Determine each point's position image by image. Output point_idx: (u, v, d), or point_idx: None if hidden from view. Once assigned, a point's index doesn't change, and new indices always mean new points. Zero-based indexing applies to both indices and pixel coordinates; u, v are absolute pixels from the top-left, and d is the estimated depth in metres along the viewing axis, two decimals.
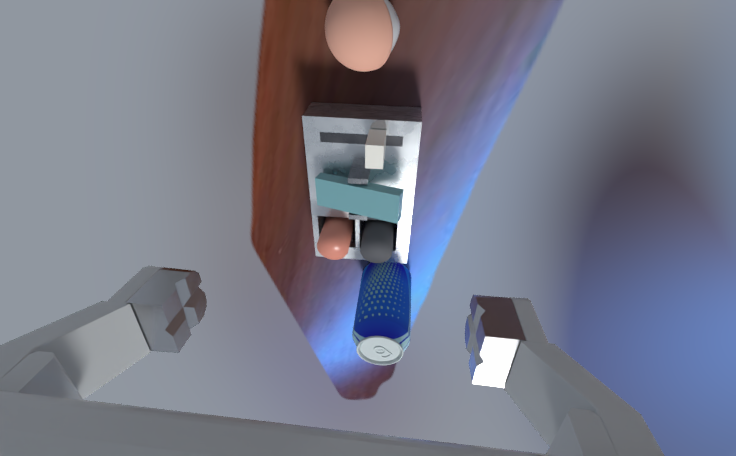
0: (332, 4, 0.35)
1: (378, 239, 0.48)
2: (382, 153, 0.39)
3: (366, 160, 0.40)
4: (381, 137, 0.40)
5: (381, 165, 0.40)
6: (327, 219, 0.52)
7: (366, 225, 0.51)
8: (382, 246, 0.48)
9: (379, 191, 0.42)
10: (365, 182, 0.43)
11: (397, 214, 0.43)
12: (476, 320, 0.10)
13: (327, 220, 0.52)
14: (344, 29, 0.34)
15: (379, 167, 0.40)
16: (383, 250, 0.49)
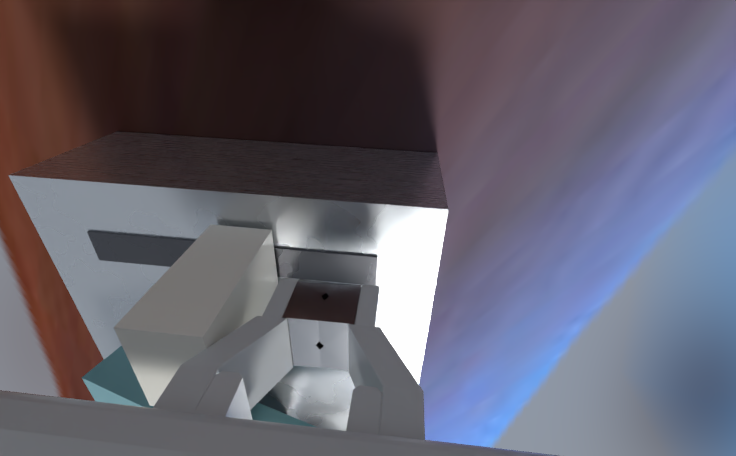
0: None
1: None
2: None
3: (144, 382, 0.09)
4: (228, 269, 0.10)
5: None
6: None
7: None
8: None
9: None
10: None
11: None
12: None
13: None
14: None
15: None
16: None
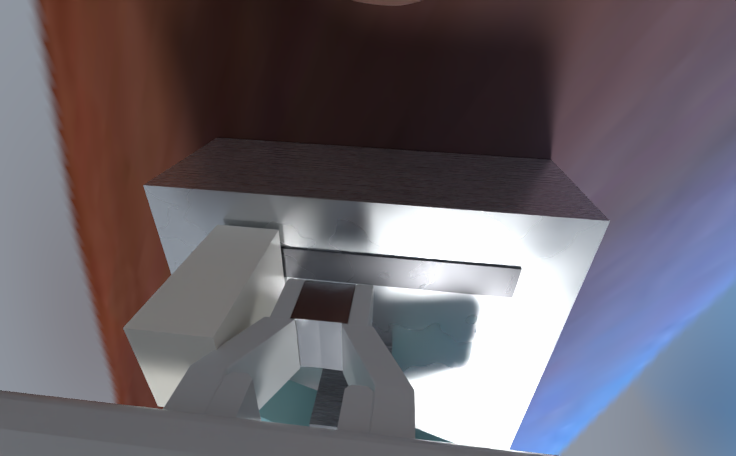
0: None
1: None
2: None
3: (153, 382, 0.09)
4: (236, 269, 0.10)
5: None
6: None
7: None
8: None
9: None
10: None
11: None
12: None
13: None
14: None
15: None
16: None
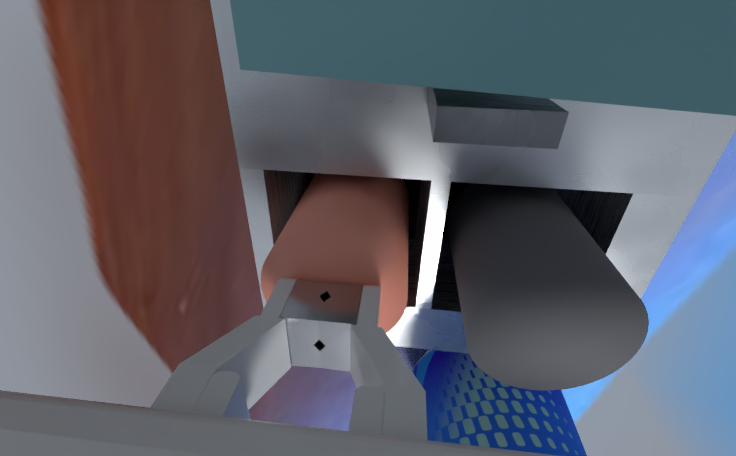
0: None
1: (592, 277, 0.08)
2: None
3: None
4: None
5: None
6: (314, 181, 0.14)
7: (471, 216, 0.12)
8: (599, 315, 0.09)
9: None
10: None
11: None
12: None
13: (314, 183, 0.13)
14: None
15: None
16: (596, 335, 0.09)
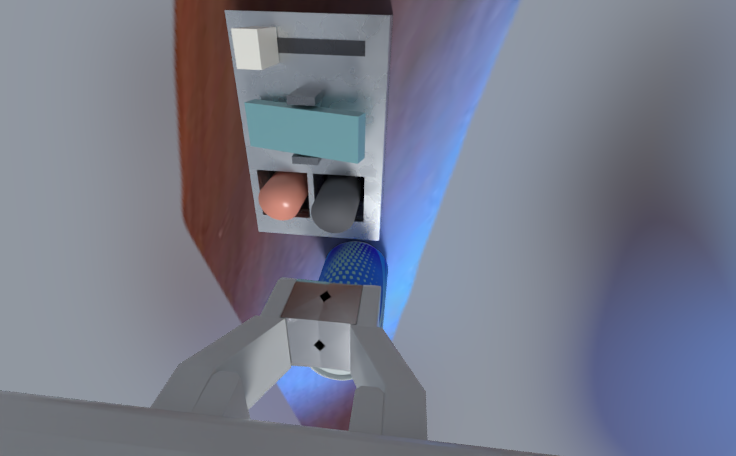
0: None
1: (335, 195, 0.34)
2: (257, 42, 0.27)
3: (236, 55, 0.28)
4: (261, 27, 0.29)
5: (258, 63, 0.28)
6: (276, 171, 0.40)
7: (323, 184, 0.38)
8: (341, 206, 0.35)
9: (331, 112, 0.30)
10: (311, 102, 0.30)
11: (357, 148, 0.30)
12: None
13: (276, 171, 0.40)
14: None
15: (256, 66, 0.28)
16: (342, 212, 0.35)
